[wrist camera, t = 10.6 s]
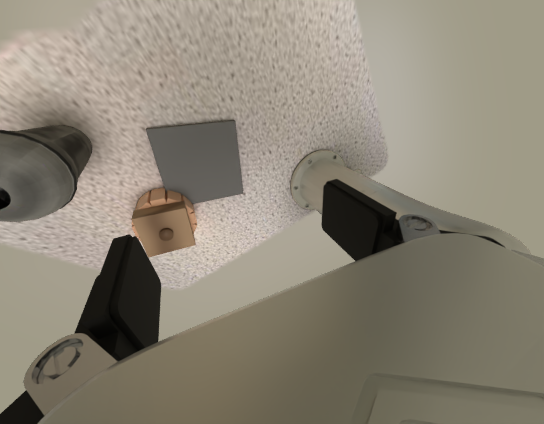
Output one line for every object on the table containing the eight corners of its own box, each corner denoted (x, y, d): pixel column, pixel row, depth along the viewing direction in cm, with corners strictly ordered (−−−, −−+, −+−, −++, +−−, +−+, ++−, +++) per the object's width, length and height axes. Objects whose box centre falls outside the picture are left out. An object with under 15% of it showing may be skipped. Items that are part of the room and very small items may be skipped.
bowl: (187, 183, 35) (189, 193, 32) (198, 226, 39) (201, 239, 36) (126, 194, 32) (122, 206, 29) (146, 239, 37) (144, 254, 33)
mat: (233, 120, 33) (235, 121, 32) (241, 191, 39) (243, 193, 38) (146, 128, 29) (145, 129, 28) (171, 205, 36) (171, 208, 35)
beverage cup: (116, 164, 30) (59, 258, 14) (54, 179, 28) (-92, 305, 12) (85, 107, 26) (-45, 146, 10) (10, 119, 24) (-295, 192, 8)
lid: (184, 200, 32) (185, 210, 29) (194, 236, 35) (196, 247, 33) (133, 210, 30) (130, 221, 27) (149, 247, 33) (148, 260, 31)
